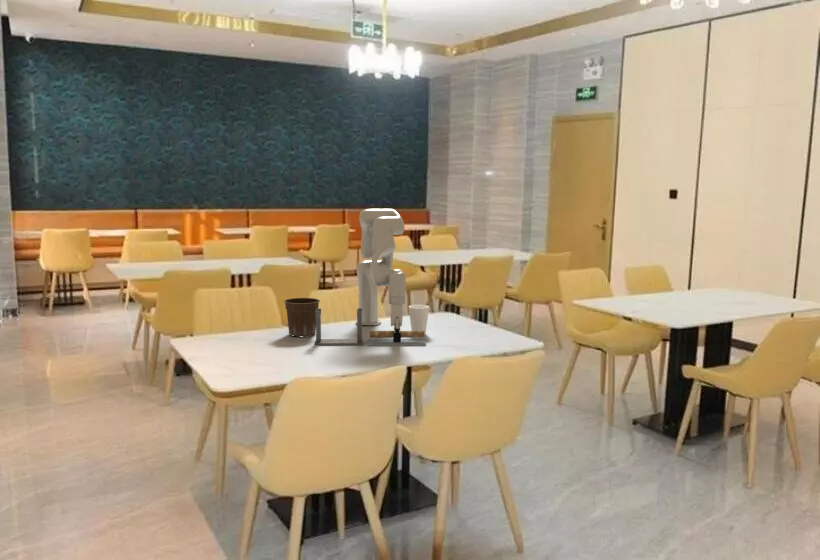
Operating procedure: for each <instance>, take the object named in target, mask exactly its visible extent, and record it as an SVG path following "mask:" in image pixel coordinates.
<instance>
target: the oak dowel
mask: <svg viewBox="0 0 820 560" xmlns="http://www.w3.org/2000/svg"><path fill="white" fill-rule="evenodd" d="M400 333H401V339H425V335H424V331H412V330H400ZM393 338H394V330H369V339H393Z"/></svg>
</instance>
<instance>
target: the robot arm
mask: <svg viewBox="0 0 820 560" xmlns="http://www.w3.org/2000/svg"><path fill="white" fill-rule="evenodd" d="M358 219H359V224H360V227H361V242H360V255H361V257H362V258H363V259H364V260H362V261H360V262H358V263H357V265H356V275H357V283H358V308H362V325H374V326H380V325H381V324H380V323H382V322H381V320H380V319H379V306H378V305H379V303H378V302H379V296H378V295H379V294H378V293H379V290H378V287H388V304H390V326H391V327H393V331H394V338H392V339H394V342H401V339H402V338H401V333H400V331H401V327H402V326H403V315H404V314H403V313H404V305H405V304H406V303H407V302H406V300H407V298H406V297H407V295H406V294H407V292H406V290H407V286H406V285H407V282H406V281H407V279H406V278H407V277H406V276H407V275H406V273H405V272H404V271H402V269H400V268H393V262H394V251H395V250H396V247H397V246H396V243H395V242H396V241H395V237H394V236H396V235H398V236H399V235H402V234H403V233H404V232H405V223H404V220H403V218H402V215H400V214H399V212H397V210H395V209H393V208H366V209H363V210H361V211H360V213H359V218H358ZM355 324H356V325H357V320H355Z"/></svg>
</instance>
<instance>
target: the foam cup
mask: <svg viewBox="0 0 820 560" xmlns="http://www.w3.org/2000/svg"><path fill="white" fill-rule="evenodd" d="M408 313H409V320H410V327H411V331H424V336H425V335H426V333H427V326H428V319H429V318H428V317H429V313H430V306H429V305H425V304H413V305H412V304H411V305H408Z"/></svg>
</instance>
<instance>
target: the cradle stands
mask: <svg viewBox="0 0 820 560" xmlns="http://www.w3.org/2000/svg"><path fill="white" fill-rule="evenodd" d="M315 318H316V331H315V340H314V345H317V346H364V338H363V326H362V308H359V307H358V308H357V309H356V321H357V324H356V327H357V328H356V330H357V331H356V334H357V335H356V336H357V338H322V308H318V309H316V311H315Z"/></svg>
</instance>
